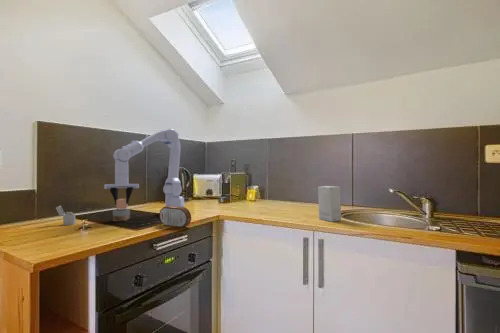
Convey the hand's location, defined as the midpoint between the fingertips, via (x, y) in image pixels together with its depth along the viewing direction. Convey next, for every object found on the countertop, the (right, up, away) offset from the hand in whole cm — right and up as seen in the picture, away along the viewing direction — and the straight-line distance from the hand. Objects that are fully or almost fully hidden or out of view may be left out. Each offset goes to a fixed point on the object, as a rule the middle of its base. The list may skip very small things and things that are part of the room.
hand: (122, 203), depth 126 cm
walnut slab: (0, -8, 0) cm, 8 cm away
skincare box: (+96, -8, 0) cm, 97 cm away
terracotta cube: (0, -2, 0) cm, 2 cm away
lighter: (-20, -8, -10) cm, 23 cm away
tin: (+28, -8, -13) cm, 32 cm away
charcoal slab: (0, -5, 0) cm, 5 cm away
